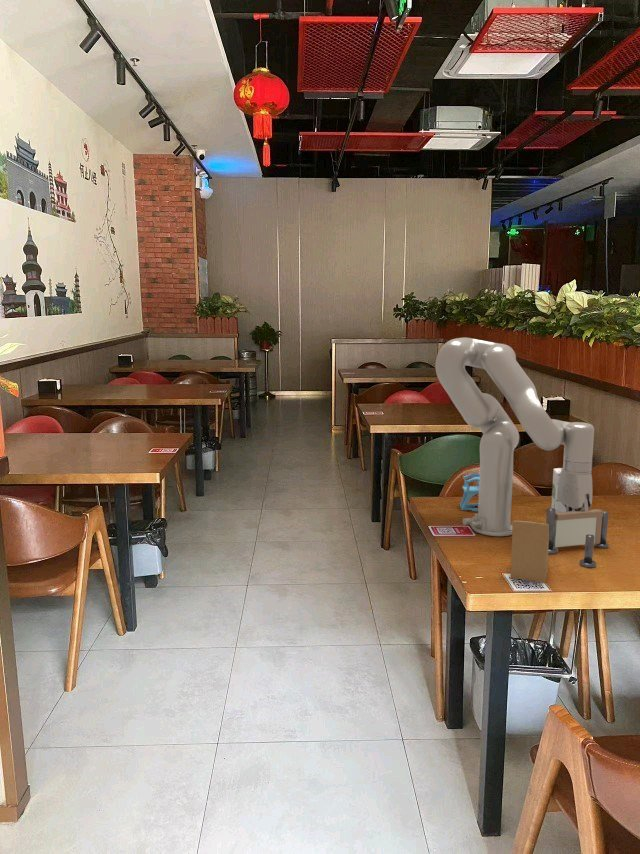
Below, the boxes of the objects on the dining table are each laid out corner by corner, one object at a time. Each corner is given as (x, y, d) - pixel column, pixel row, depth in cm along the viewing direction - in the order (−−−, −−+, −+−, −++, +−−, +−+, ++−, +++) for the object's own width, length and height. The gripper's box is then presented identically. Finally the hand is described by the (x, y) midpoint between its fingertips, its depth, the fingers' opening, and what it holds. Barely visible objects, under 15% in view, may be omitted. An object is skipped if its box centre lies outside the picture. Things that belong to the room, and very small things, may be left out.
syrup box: (572, 516, 210) (575, 472, 207) (553, 515, 210) (556, 471, 208) (568, 511, 215) (571, 468, 213) (550, 510, 216) (553, 467, 213)
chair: (458, 505, 221) (459, 471, 219) (483, 505, 221) (484, 471, 219) (462, 512, 213) (463, 476, 211) (487, 512, 213) (489, 477, 211)
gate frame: (569, 570, 166) (573, 525, 163) (535, 548, 181) (538, 507, 178) (641, 562, 171) (645, 519, 169) (601, 542, 186) (605, 502, 184)
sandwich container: (549, 561, 172) (553, 507, 169) (545, 583, 158) (549, 524, 155) (515, 556, 175) (519, 503, 172) (509, 578, 161) (512, 520, 158)
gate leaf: (555, 547, 178) (558, 514, 176) (551, 545, 180) (553, 512, 178) (600, 543, 181) (603, 511, 180) (595, 541, 183) (598, 509, 182)
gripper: (549, 461, 189) (546, 522, 192) (582, 473, 175) (578, 538, 178) (572, 459, 191) (568, 520, 194) (606, 471, 177) (601, 536, 180)
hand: (573, 528), depth 186 cm, fingers closed
